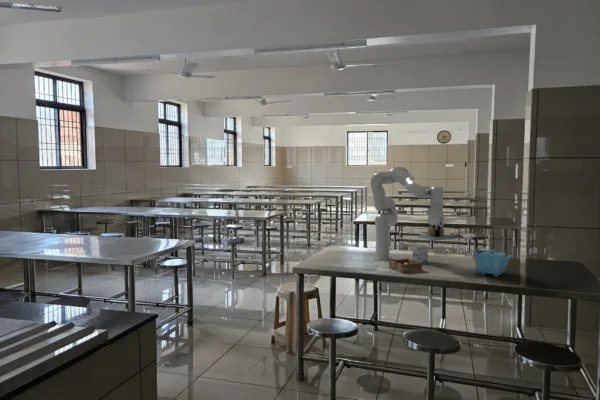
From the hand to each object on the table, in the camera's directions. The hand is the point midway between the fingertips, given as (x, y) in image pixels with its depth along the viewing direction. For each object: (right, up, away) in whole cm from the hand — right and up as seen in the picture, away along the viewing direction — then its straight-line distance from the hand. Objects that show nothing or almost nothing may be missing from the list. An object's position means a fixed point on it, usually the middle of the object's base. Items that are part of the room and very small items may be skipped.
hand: (435, 235), depth 288 cm
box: (-21, -21, -7) cm, 30 cm away
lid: (0, -1, 0) cm, 1 cm away
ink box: (-5, -20, +17) cm, 27 cm away
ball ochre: (-19, -20, -4) cm, 28 cm away
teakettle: (+29, -22, -14) cm, 39 cm away
